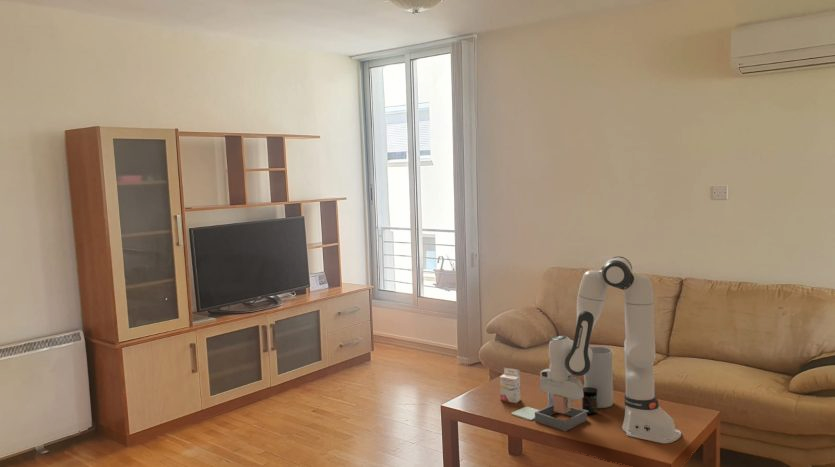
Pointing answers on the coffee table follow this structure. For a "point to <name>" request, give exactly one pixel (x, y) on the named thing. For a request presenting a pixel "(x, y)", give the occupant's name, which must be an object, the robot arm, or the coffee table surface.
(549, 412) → the parts bin
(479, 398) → the coffee table surface
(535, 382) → the coffee table surface
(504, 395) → the ink cartridge box
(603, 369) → the cylinder vase
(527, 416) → the pad
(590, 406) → the supplement container
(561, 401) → the salmon pink block
